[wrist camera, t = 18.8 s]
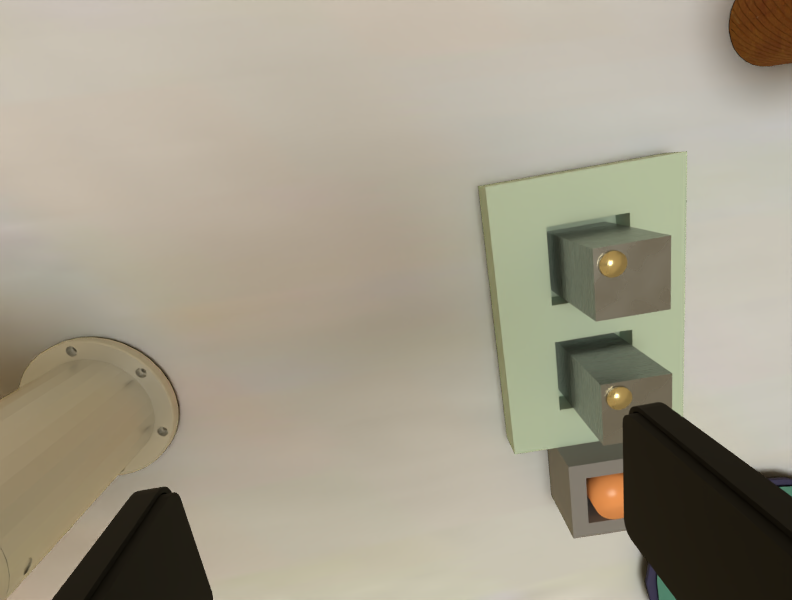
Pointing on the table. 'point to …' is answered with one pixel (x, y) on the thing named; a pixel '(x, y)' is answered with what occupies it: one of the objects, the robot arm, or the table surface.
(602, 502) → the button
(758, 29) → the disposable coffee cup
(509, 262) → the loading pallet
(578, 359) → the seated billet
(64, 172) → the table surface
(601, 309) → the knobbed taupe block
